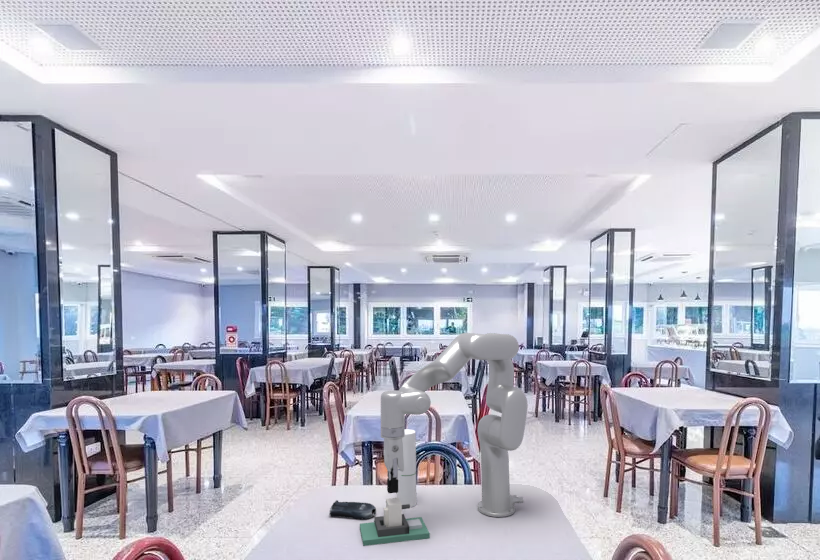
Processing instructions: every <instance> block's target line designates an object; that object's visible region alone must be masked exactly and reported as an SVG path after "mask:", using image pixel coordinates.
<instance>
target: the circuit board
mask: <svg viewBox="0 0 820 560" xmlns="http://www.w3.org/2000/svg"><path fill="white" fill-rule="evenodd" d="M373 518H374V521H373V522H372V521H371V522H362V523H359V531H360V536H361V541H362V546H363V547H367V546H374V545H382V544H383V545H385V544H394V543H399V542H400V543H401V542H409V541H417V540H427V539H430V538H431V536H430V535H431V533H430V531H429V529H428V526H427V525H426V523H425V522H424V519H423V517H422V516H419V517H418V516H417V517H409V518H406V516H405V514H404V513H402V526H394V527H386V525H384V515H382V516H381V515H380V516H373Z"/></svg>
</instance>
